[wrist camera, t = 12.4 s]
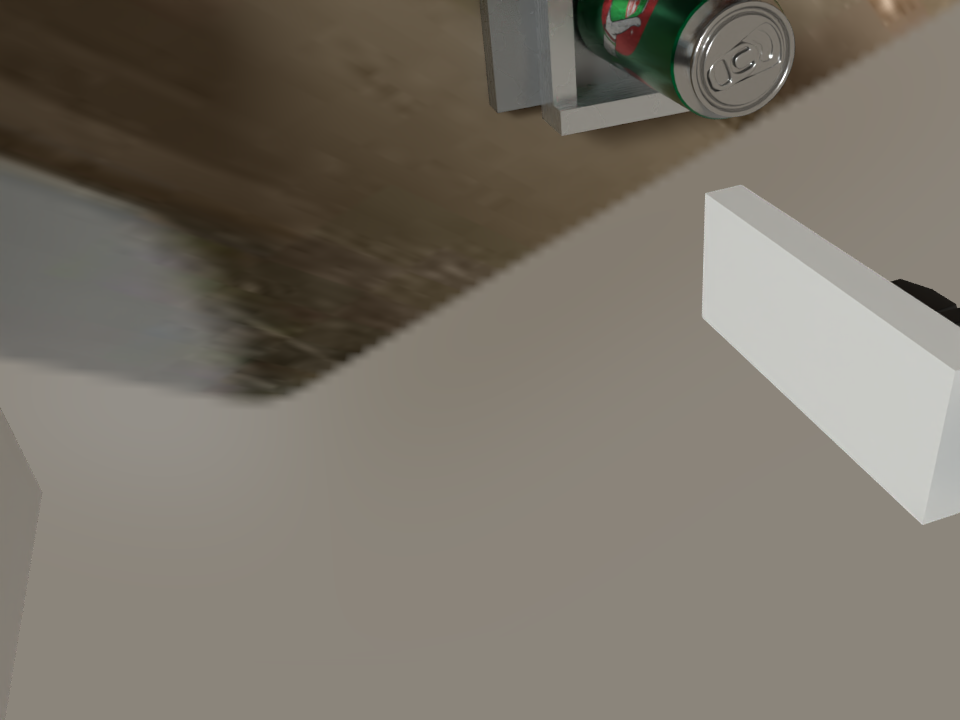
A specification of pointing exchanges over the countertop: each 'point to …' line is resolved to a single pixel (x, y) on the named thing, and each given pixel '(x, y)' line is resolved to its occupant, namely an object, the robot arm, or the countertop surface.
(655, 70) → the soda can
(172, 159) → the countertop surface
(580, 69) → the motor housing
